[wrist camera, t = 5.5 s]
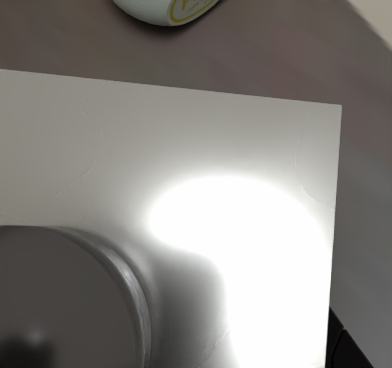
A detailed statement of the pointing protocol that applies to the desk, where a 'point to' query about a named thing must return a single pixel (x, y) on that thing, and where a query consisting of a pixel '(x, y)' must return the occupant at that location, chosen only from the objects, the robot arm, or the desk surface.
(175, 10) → the air freshener
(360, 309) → the desk surface
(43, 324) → the grey tall block
